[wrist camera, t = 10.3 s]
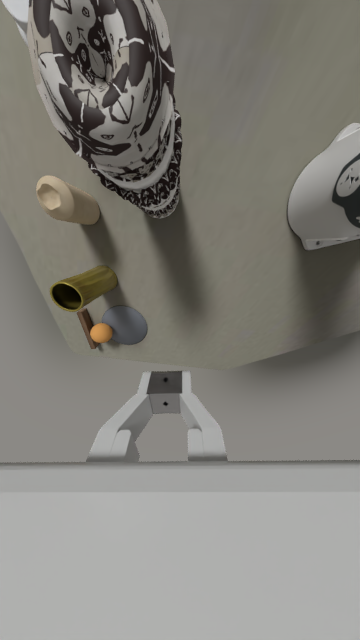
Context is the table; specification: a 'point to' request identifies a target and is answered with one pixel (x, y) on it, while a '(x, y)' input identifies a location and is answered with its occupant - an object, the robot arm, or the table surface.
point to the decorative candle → (112, 92)
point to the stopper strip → (87, 326)
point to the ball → (101, 333)
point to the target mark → (125, 324)
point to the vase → (83, 288)
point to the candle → (66, 201)
